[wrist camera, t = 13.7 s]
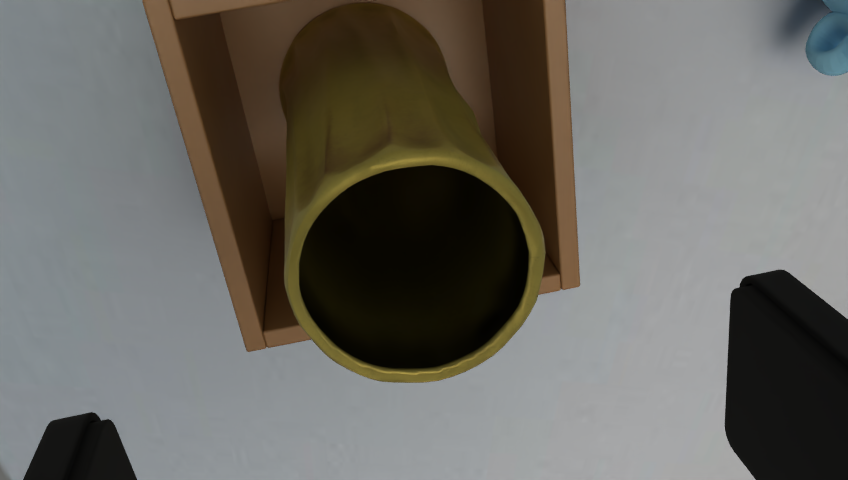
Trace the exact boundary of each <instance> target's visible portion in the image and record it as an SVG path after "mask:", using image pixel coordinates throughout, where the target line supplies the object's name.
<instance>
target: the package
mask: <svg viewBox="0 0 848 480" xmlns="http://www.w3.org/2000/svg"><path fill="white" fill-rule="evenodd" d="M142 2H143V5H144V9H145V12H146V15H147V19H148V22H149V25H150V29H151V32H152V35H153V39H154V42H155V45H156V49H157V52H158V56H159V59H160V62H161V66H162V69H163V72H164V76H165V79H166V82H167V86H168V89H169V92H170V96H171V99H172V102H173V106H174V109H175V113H176V116H177V119H178V123H179V126H180V129H181V133H182V136H183V139H184V143H185V146H186V149H187V153H188V156H189V159H190V163H191V166H192V170H193V173H194V176H195V180H196V183H197V186H198V190H199V193H200V196H201V200H202V203H203V206H204V210H205V213H206V216H207V220H208V223H209V227H210V230H211V233H212V237H213V240H214V243H215V247H216V250H217V253H218V257H219V260H220V263H221V267H222V270H223V273H224V277H225V280H226V283H227V287H228V290H229V294H230V297H231V300H232V304H233V307H234V310H235V314H236V317H237V320H238V324H239V327H240V330H241V334H242V337H243V340H244V344H245V347H246V350H247V352H251V351H256V350H261V349H265V348H266V347H268V348H270V347H275V346H280V345H285V344H290V343H296V342H301V341H306V340H311V338H310V337H309V336H308V335H307V333H306V332H305V331H304V330H303V329H302V328H301V326H300V325H299V323H298V321H297V319H296V317H295V315H294V313H293V310H292V308H291V305H290V302H289V299H288V296H287V292H286V288H285V284H284V261H285V199H286V134H287V123H286V119H285V116H284V113H283V109H282V105H281V100H280V94H279V82H280V73H281V68H282V65H283V61H284V59H285V56H286V53H287V51H288V49H289V47H290V45H291V44H292V42H293V40H294V39H295V37H296V36H297V35H298V34H299V32H300V31H301V30H302V29H303V28H304V27H305V26H306V25H307V24H308V23H310V22H311V21H312V20H314V19H315V18H316V17H318V16H320V15H321V14H323V13H325V12H326V11H329V10H331V9H333V8H336V7H339V6H343V5H347V4H353V3H376V4H383V5H387V6H391V7H394V8H396V9H398V10H400V11H402V12H404V13H406V14H408V15H409V16H411V17H412V18H413V19H415V20H416V21H418V22H419V23H420V24H421V25H422V26H423V27H425V28H426V29H427V31H428V32H429V33H430V34H431V35H432V37H433V38H434V39H435V40H436V42H437V44H438V46H439V48H440V50H441V52H442V54H443V57H444V59H445V62H446V65H447V69H448V73H449V76H450V78H451V80H452V82H453V84H454V86H455V88H456V90H457V91H458V92H459V93H460V95H461V96H462V97H463V98H464V100H465V101H466V102H467V104H468V105H469V106H470V108H471V109H472V110H473V112H474V114H475V117H476V120H477V123H478V126H479V129H480V132H481V135H482V136H483V138H484V139H485V141H486V142H487V144H488V145H489V147H490V148H491V150H492V151H493V153H494V155H495V156H496V158H497V159H498V161H499V162H500V164H501V165H502V167H503V168H504V170H505V172H506V173H507V175H508V176H509V177H510V179H511V180H512V181H513V183H514V184H515V185H516V186H517V187H518V189H519V190H520V191H521V193H522V195H523V196H524V198H525V199H526V201H527V202H528V204H529V205H530V207H531V209H532V211H533V213H534V215H535V217H536V218H537V220H538V222H539V224H540V226H541V229H542V232H543V236H544V244H545V253H546V254H545V261H544V269H543V276H542V281H541V286H540V290H539V293H538V295H539V294H545V293H550V292H555V291H559V290H561V289H562V290H565V289H570V288H575V287H579V286H580V274H579V255H578V236H577V217H576V197H575V178H574V159H573V140H572V121H571V101H570V82H569V63H568V44H567V25H566V5H565V0H143V1H142Z"/></svg>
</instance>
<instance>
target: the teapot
mask: <svg viewBox="0 0 848 480" xmlns="http://www.w3.org/2000/svg"><path fill="white" fill-rule="evenodd" d="M822 1H823V2H824V4H825V5H826V6H827V7H828V8H829V9H830V10H831V11H832V12H831V13H829V14H827V15H826V16H824V17H823V18H822V19H821V20H820V21H819V22H818V23H817V24H816V25H815V27H814V28H813V30H812V31H811V33H810V35H809V37H808V40H807V43H806V50H805V51H806V55H807V58H808V60H809V62H810V63H811V65H812V66H813V67H814V68H815V69H816V70H818V71H819V72H820V73H823V74H825V75H830V76H837V75H842V74H844V73H846V72H848V0H822Z"/></svg>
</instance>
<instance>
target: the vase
mask: <svg viewBox="0 0 848 480" xmlns="http://www.w3.org/2000/svg"><path fill="white" fill-rule="evenodd" d="M279 94H280V100H281V105H282V109H283V113H284V116H285V119H286V123H287V134H286V199H285V261H284V284H285V288H286V292H287V296H288V299H289V302H290V305H291V308H292V310H293V313H294V315H295V317H296V319H297V321H298V323H299V325H300V326H301V328H302V329H303V330H304V331H305V332H306V333H307V335H308V336H309V337H310V338H311V339H312V340H313V342H314V343H315V344H316V345H317V346H318V347H319V348H320V349H321V350H322V351H323V352H324V353H325V354H326V355H327V356H328V357H329V358H331V359H332V360H333V361H335V362H336V363H338V364H339V365H341V366H343V367H345V368H347V369H349V370H351V371H353V372H355V373H357V374H359V375H362V376H364V377H367V378H370V379H373V380H377V381H382V382H403V383H421V382H431V381H439V380H443V379H446V378H450V377H453V376H455V375H458V374H461V373H463V372H466V371H468V370H470V369H472V368H474V367H476V366H478V365H479V364H481V363H483V362H484V361H486V360H487V359H489V358H490V357H492V356H493V355H494V354H495V353H497V352H498V351H499V350H500V349H501V348H502V347H503V346H504V345H505V344H506V343H507V342H508V341H509V340H510V339H511V338H512V336H513V335H514V334H515V333H516V332H517V331H518V330H519V328H520V327H521V326H522V325H523V323H524V322H525V320H526V319H527V317H528V316H529V314H530V312H531V310H532V308H533V306H534V305H535V303H536V300H537V297H538V293H539V290H540V286H541V281H542V276H543V269H544V261H545V254H546V253H545V244H544V236H543V232H542V229H541V226H540V224H539V222H538V220H537V218H536V217H535V215H534V213H533V211H532V209H531V207H530V205H529V204H528V202H527V201H526V199H525V198H524V196H523V195H522V193H521V191H520V190H519V189H518V187H517V186H516V185H515V184H514V183H513V181H512V180H511V179H510V177H509V176H508V175H507V173H506V172H505V170H504V168H503V167H502V165H501V164H500V162H499V161H498V159H497V158H496V156H495V155H494V153H493V151H492V150H491V148H490V147H489V145H488V144H487V142H486V141H485V139H484V138H483V136H482V135H481V132H480V129H479V126H478V123H477V120H476V117H475V114H474V112H473V110H472V109H471V108H470V106H469V105H468V104H467V102H466V101H465V100H464V98H463V97H462V96H461V95H460V93H459V92H458V91H457V90H456V88H455V86H454V84H453V82H452V80H451V78H450V76H449V73H448V69H447V65H446V62H445V59H444V57H443V54H442V52H441V50H440V48H439V46H438V44H437V42H436V40H435V39H434V38H433V37H432V35H431V34H430V33H429V32H428V31H427V29H426V28H425V27H423V26H422V25H421V24H420V23H419V22H418V21H416V20H415V19H413V18H412V17H411V16H409V15H408V14H406V13H404V12H402V11H400V10H398V9H396V8H394V7H391V6H387V5H383V4H376V3H353V4H347V5H343V6H339V7H336V8H333V9H331V10H329V11H326V12H325V13H323V14H321V15H320V16H318V17H316V18H315V19H314V20H312V21H311V22H310V23H308V24H307V25H306V26H305V27H304V28H303V29H302V30H301V31H300V32H299V34H298V35H297V36H296V37H295V39H294V40H293V42H292V44H291V45H290V47H289V49H288V51H287V53H286V56H285V59H284V61H283V65H282V68H281V73H280V82H279Z"/></svg>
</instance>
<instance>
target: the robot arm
mask: <svg viewBox="0 0 848 480" xmlns="http://www.w3.org/2000/svg"><path fill="white" fill-rule="evenodd" d="M725 431H726V436H727V439H728V441H729V444H730V446H731V447H732V449H733V450H734V452H735V453H736V454H737V456H738V457H739V458H740V460H741V461H742V462H743V464H744V465H745V466H746V467H747V469H748V470H749V471H750V473H751V474H752V475H753V476H754V478H755V479H756V480H848V319H847V318H845V317H844V316H843V315H842V314H840V313H839V312H838V311H836V310H835V309H834V308H833V307H831V306H830V305H829V304H828V303H826V302H825V301H824V300H823V299H821V298H820V297H819V296H818V295H816V294H815V293H814V292H812V291H811V290H810V289H809V288H807V287H806V286H805V285H804V284H802V283H801V282H800V281H799V280H797V279H796V278H795V277H794V276H792V275H791V274H790V273H788V272H787V271H785V270H775V271H771V272H766V273H761V274H756V275H751V276H747V277H745V278H743V279H742V281H741V283H740V288H736V289H734V290H733V291H732V293H731V300H730V322H729V344H728V366H727V388H726V409H725ZM23 480H137V478H136V476H135V473H134V471H133V468H132V466H131V464H130V461H129V459H128V456H127V454H126V451H125V449H124V447H123V444H122V442H121V439H120V437H119V434H118V432H117V429H116V427H115V425H114V423H113V422H112V421H111V420H109V419H107V420H102V421H101V420H100V418H99V417H98V416H97V414H96V413H92V412H91V413H86V414H81V415H77V416H72V417H67V418H62V419H57V420H53V421H51V422H50V423H49V424H48V426H47V428H46V430H45V432H44V434H43V437H42V439H41V441H40V443H39V446H38V448H37V450H36V452H35V454H34V457H33V459H32V461H31V463H30V466H29V468H28V470H27V472H26V474H25V477H24V479H23Z"/></svg>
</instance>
